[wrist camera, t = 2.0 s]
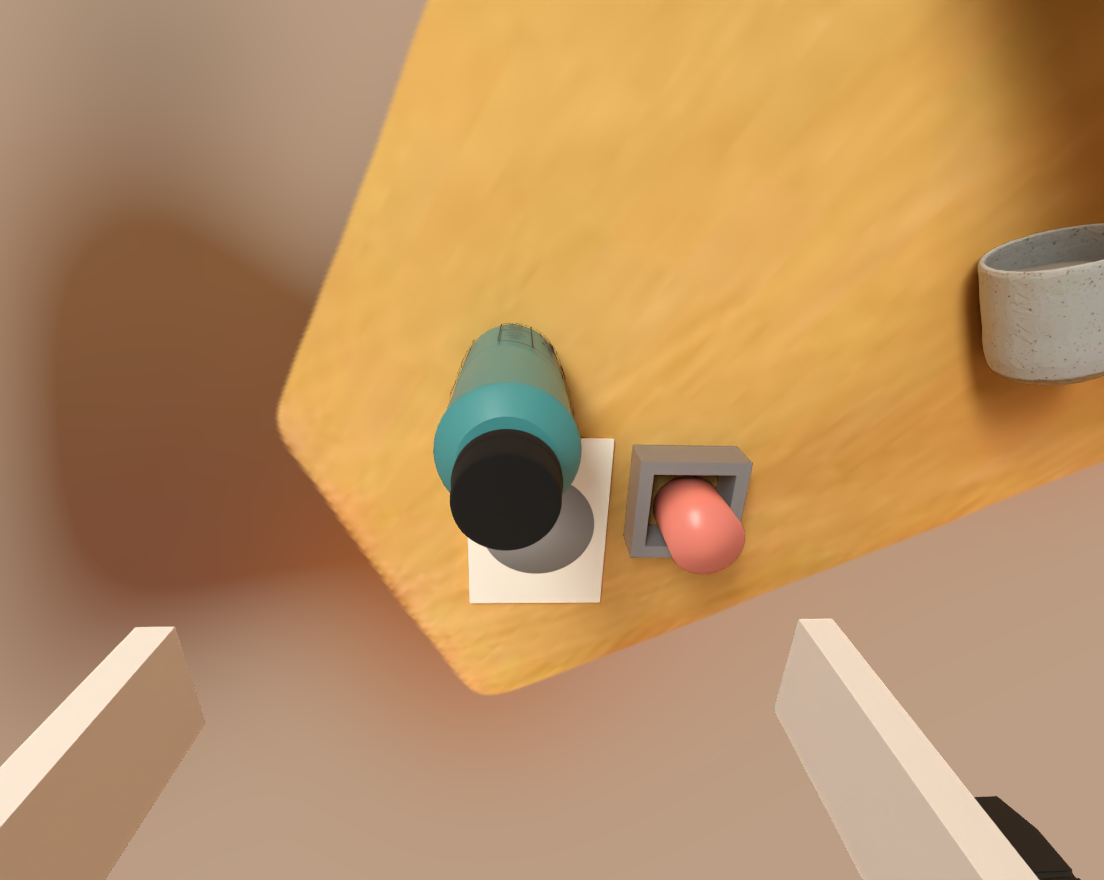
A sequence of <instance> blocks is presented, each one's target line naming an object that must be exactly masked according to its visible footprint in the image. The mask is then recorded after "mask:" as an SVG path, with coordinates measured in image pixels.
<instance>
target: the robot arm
mask: <svg viewBox="0 0 1104 880" xmlns="http://www.w3.org/2000/svg"><path fill="white" fill-rule="evenodd" d="M774 711H775V713H776V715H777V717H778V719H779V721H780V723H781V725H782V726H783V728H784V730H785V732H786V734H787V736H788V738H789V740H790V741H791V744H792V746H793V748H794V749H795V751H796V753H797V755H798V757H799V759H800V761H801V763H802V765H803V767H804V769H805V771H806V773H807V774H808V776H809V778H810V780H811V782H812V784H813V786H814V787H815V789H816V792H817V794H818V795H819V797H820V799H821V801H822V803H823V805H824V807H825V809H826V810H827V813H828V814H829V817H830V819H831V820H832V822H833V824H834V826H835V828H836V830H837V832H838V834H839V836H840V838H841V840H842V842H843V844H844V845H845V847H846V849H847V851H848V853H849V855H850V857H851V859H852V861H853V863H854V865H855V867H856V868H857V870H858V872H859V874H860V876H861V878H862V880H1080V879H1079V878H1076V877H1075V876H1074V875H1073V873H1072V869H1071V868H1070V867H1069V866H1068V865H1067V863H1066V862H1065V861H1064V860H1063V859H1062V858H1061V856H1060V855H1059V854H1058V853H1057V852H1056V851H1055V849H1054V848H1053V847H1052V846H1051V845H1050V844H1049V842H1048V841H1047V840H1046V839H1045V838H1044V837H1043V835H1042V834H1041V833H1040V832H1039V831H1038V830H1037V829H1036V828H1035V827H1034V826H1033V825H1031V824H1030V823H1029V822H1028V821H1027V820H1025V819H1024V818H1023V817H1022V816H1020V815H1019V814H1018V813H1017V812H1015V811H1014V810H1013V809H1012V808H1011V807H1009V806H1008V805H1007V804H1006V803H1004V802H1003V801H1002V800H1001V799H1000V798H998V797H997V796H995V797H994V796H993V797H973V796H972V795H971V793H970V792H969V791H968V789H967V788H966V787H965V786H964V784H963V783H962V782H961V780H960V779H959V778H958V777H957V776H956V774H955V773H954V772H953V770H952V769H951V768H950V767H949V765H948V764H947V763H946V762H945V760H944V759H943V758H942V757H941V755H940V754H939V753H938V751H937V750H936V749H935V748H934V746H933V745H932V744H931V743H930V742H929V740H928V739H927V738H926V736H925V735H924V734H923V733H922V731H921V730H920V729H919V727H918V726H917V725H916V724H915V723H914V721H913V720H912V719H911V717H910V716H909V715H908V714H907V713H906V711H905V710H904V709H903V707H902V706H901V705H900V704H899V702H898V701H897V700H896V699H895V698H894V696H893V695H892V693H891V692H890V691H889V690H888V688H887V687H886V686H885V685H884V683H883V682H882V681H881V680H880V678H879V677H878V676H877V674H876V673H875V672H874V671H873V670H872V668H871V667H870V666H869V665H868V663H867V662H866V661H865V659H864V658H863V657H862V656H861V654H860V653H859V652H858V651H857V649H856V648H855V647H854V646H853V644H852V643H851V642H850V640H849V639H848V638H847V637H846V635H845V634H844V633H843V632H842V630H841V629H840V628H839V627H838V625H837V624H836V623H835V621H834V620H833V619H798V623H797V627H796V630H795V634H794V638H793V641H792V645H791V648H790V652H789V656H788V660H787V663H786V667H785V671H784V674H783V678H782V682H781V685H780V689H779V693H778V697H777V700H776V704H775V707H774ZM204 725H205V720H204V717H203V714H202V711H201V707H200V704H199V701H198V698H197V695H196V692H195V689H194V685H193V682H192V679H191V676H190V673H189V670H188V667H187V663H186V660H185V657H184V654H183V651H182V648H181V644H180V641H179V638H178V635H177V632H176V629H175V627H135V628H134V629H133V630H132V632H131V633H130V634H129V635H128V636H127V637H126V638H125V639H124V640H123V641H122V642H121V643H120V644H119V645H118V646H117V647H116V648H115V649H114V650H113V651H112V652H111V653H110V654H109V655H108V656H107V657H106V658H105V659H104V660H103V661H102V663H101V664H100V665H99V666H98V667H97V668H96V669H95V670H94V671H93V672H92V673H91V674H90V675H89V676H88V677H87V678H86V679H85V680H84V681H83V682H82V683H81V684H80V685H79V686H78V687H77V688H76V689H75V690H74V691H73V692H72V693H71V694H70V696H68V698H67V699H66V700H65V701H64V702H63V703H62V704H61V705H60V706H59V707H58V708H57V709H56V710H55V711H54V712H53V713H52V714H51V715H50V716H49V717H48V718H47V719H46V720H45V721H44V722H43V723H42V724H41V725H40V726H39V728H37V730H36V731H35V732H34V733H33V734H32V735H31V736H30V737H29V738H28V739H27V740H26V741H25V742H24V743H23V744H22V745H21V746H20V747H19V748H18V749H17V750H16V751H15V752H14V753H13V754H12V755H11V756H10V757H9V758H8V759H7V761H6V762H5V763H4V764H3V765H2V766H1V767H0V880H105V879H106V878H107V876H108V875H109V873H110V872H111V870H112V868H113V867H114V865H115V864H116V862H117V861H118V859H119V857H120V856H121V854H122V853H123V851H124V850H125V848H126V847H127V845H128V843H129V842H130V840H131V839H132V837H133V836H134V834H135V832H136V831H137V829H138V828H139V826H140V825H141V823H142V822H143V820H144V818H145V817H146V815H147V814H148V812H149V811H150V809H151V808H152V806H153V804H154V803H155V801H156V800H157V798H158V797H159V795H160V793H161V792H162V790H163V789H164V787H165V786H166V784H167V783H168V781H169V779H170V778H171V776H172V775H173V773H174V772H175V770H176V768H177V767H178V765H179V764H180V762H181V761H182V759H183V757H184V756H185V754H186V753H187V751H188V750H189V748H190V747H191V745H192V744H193V742H194V740H195V739H196V737H197V736H198V734H199V733H200V731H201V729H202V728H203V726H204Z"/></svg>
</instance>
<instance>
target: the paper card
mask: <svg viewBox="0 0 1104 880" xmlns="http://www.w3.org/2000/svg"><path fill="white" fill-rule="evenodd" d="M581 446H582V453H581V461H580V466H579V469H578V472H577V474H576V477H575V479H574V481H573V482H572V484H571V485H570V487H569V488H568V490H567V491H566V492H565V493H564V495H562V506H561V511H560V515H559V517H558V520H557V521H556V523H555V525H554V526H553V528H552V529H551V530H550V532H549V533H548V534H547V535H546V536H545V537H543V538H542V539H541V540H539V541H538V542H536V543H535V544H532V545H530V546H528V547H525V548H522V549H517V550H510V551H502V550H494V549H490V548H487V547H484V546H481V545H479V544H477V543H475V542H474V541H472V540H471V539H469V538H468V557H469V589H470V603H578V602H600V595H601V584H602V572H603V561H604V550H605V539H606V528H607V517H608V506H609V494H610V483H611V472H612V461H613V450H614V439H611V438H581Z"/></svg>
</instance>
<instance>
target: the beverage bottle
mask: <svg viewBox="0 0 1104 880" xmlns="http://www.w3.org/2000/svg"><path fill="white" fill-rule="evenodd" d="M505 324H507V323H505ZM522 325H523V324H522ZM522 325H520V326H518V325H517V323H516V325H515V324H513V325H511V324H510V325H504V326H502V324H501V326H499V327H496V328H493V329H491V330H489V331H487V332H486V333H484V334H483V335H482V336H480V337H479V338H478V339H477V340H476V342H475V343H474V344H472V345H473V346H471V349H469V350H470V351H469V353H468V355H467V358H466V360H465V363H464V365H463V368H462V367H461V368H462V370H461V373H460V372H459V373H460V375H459V378H458V377H457V378H458V381H457V383H456V382H455V383H456V386H455V389H454V393H453V395H452V398H451V400H450V403H449V405H448V408H447V410H446V412H445V413H444V415H443V416H442V418H441V420H440V423H439V425H438V427H437V430H436V434H435V438H434V449H433V453H434V461H435V465H436V469H437V471H438V474H439V476H440V478H441V480H442V482H443V484H444V486H445V487H446V488H447V490H448V491H449V492H450V507H451V511H452V515H453V518H454V520H455V522H456V524H457V525H458V527H459V528H460V530H461V531H462V532H463V533H464V534H465V535H466V536H467V537H468V538H469V539H471V540H472V541H474V542H475V543H477V544H479V545H481V546H484V547H487V548H490V549H494V550H502V551H510V550H517V549H522V548H525V547H528V546H530V545H532V544H535V543H536V542H538V541H539V540H541V539H542V538H543V537H545V536H546V535H547V534H548V533H549V532H550V530H551V529H552V528H553V526H554V525H555V523H556V521H557V520H558V517H559V515H560V511H561V506H562V495H564V493H565V492H566V491H567V490H568V488H569V487H570V485H571V484H572V482H573V481H574V479H575V477H576V474H577V472H578V469H579V466H580V461H581V453H582V446H581V438H580V434H579V430H578V427H577V424H576V422H575V419H574V418H573V415H574V413H573V415H572V412H571V408H570V402H569V399H568V395H567V391H566V388H565V384H564V381H563V375H561V373H562V372H561V371H560V368H559V364H558V362H557V357H556V355H555V352H554V349H555V348H554V349H553V345H551V344H550V343H548V342H547V340H546V339H547V338H546V337H545V338H546V339H545V338H544V337H543V336H542V335H540V334H541V332H540V334H539V333H537V332H536V331H534V330H532V327H530V328H531V329H529V328H527V327H523V326H522ZM537 331H538V330H537ZM548 341H549V340H548ZM473 342H474V340H473ZM465 355H466V354H465ZM463 359H464V358H463ZM559 360H560V359H559ZM462 362H463V360H462ZM461 364H462V363H461ZM461 366H462V365H461ZM561 368H562V366H561ZM459 370H460V368H459ZM561 370H562V371H563V369H561ZM563 374H564V372H563ZM564 377H565V375H564ZM453 388H454V387H453ZM569 391H570V390H569ZM451 393H452V392H451ZM573 409H574V408H573Z"/></svg>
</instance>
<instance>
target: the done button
mask: <svg viewBox="0 0 1104 880" xmlns="http://www.w3.org/2000/svg"><path fill="white" fill-rule="evenodd" d="M653 514H654V517H655V520H656V522H657V524H658V526H659V529H660V531H661V533H662V535H663V537H664V540H665V542H666V544H667V546H668V548H669V551H670V553H671V555H672V557H673V559H674V561H675V562H676V563H677V565H678V566H680V567H681V568H682V569H684V570H686V571H688V572H691V573H696V574H708V573H713V572H717V571H719V570H722V569H724V568H726V567H727V566H729V565H730V564H731V563H732V562H734V561H735V560H736V559H737V557H738V556H739V555H740V553H741V551H742V549H743V547H744V543H745V531H744V528H743V526H742V524H741V522H740V521H739V520H738V518H737V517H736V516H735V514H734V513H733V512H732V510H731V509H730V507H729V506H728V505H727V503H726V502H725V501H724V499H723V498H722V497H721V495H720V494H719V493H718V491H717V490H716V488H715V487H714V486H713V485H712V484H711V483H710V482H709V481H708V480H706V479H704V478H702V477H699V476H695V475H685V476H680V477H677V478H674V479H672V480H670V481H669V482H667V483H666V484H665V485H664V486H662V487H661V489H660V490H659V491H658V493H657V494H656V496H655V498H654V501H653Z"/></svg>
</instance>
